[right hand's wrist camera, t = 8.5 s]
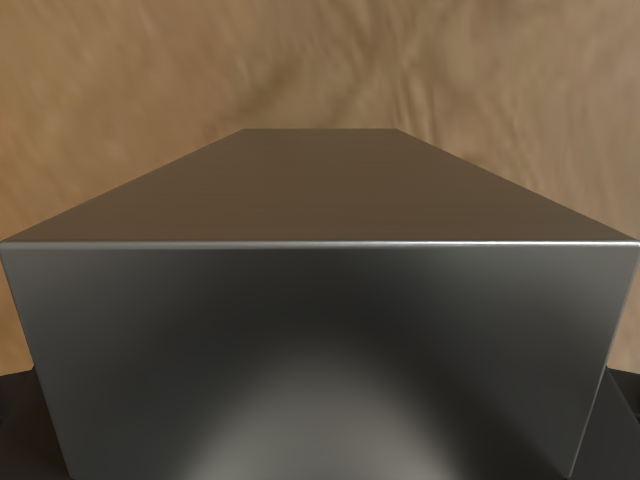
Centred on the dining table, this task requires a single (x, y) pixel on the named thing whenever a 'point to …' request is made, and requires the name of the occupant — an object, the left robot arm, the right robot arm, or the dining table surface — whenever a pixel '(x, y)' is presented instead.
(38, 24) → the dining table surface
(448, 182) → the box
